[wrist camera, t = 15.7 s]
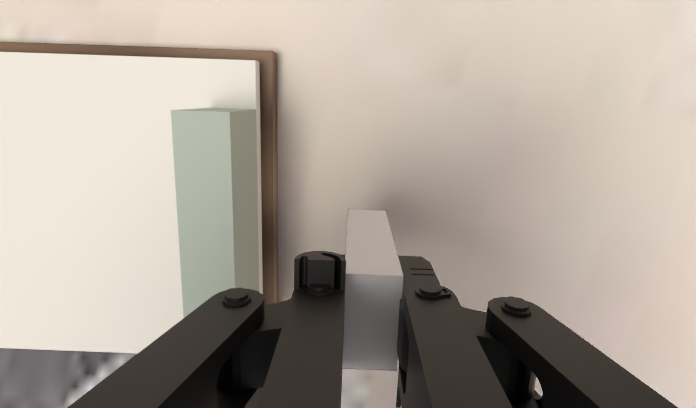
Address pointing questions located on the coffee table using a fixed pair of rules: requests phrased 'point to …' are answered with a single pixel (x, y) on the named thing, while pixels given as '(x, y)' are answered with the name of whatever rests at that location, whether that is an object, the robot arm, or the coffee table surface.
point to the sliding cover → (124, 195)
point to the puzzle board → (266, 125)
